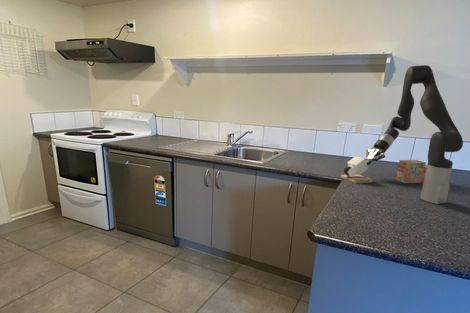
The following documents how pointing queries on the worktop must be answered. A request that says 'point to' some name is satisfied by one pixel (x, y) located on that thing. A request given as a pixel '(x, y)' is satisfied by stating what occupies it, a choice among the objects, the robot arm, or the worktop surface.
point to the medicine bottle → (356, 166)
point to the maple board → (357, 178)
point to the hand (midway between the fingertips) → (366, 164)
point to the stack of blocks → (411, 171)
